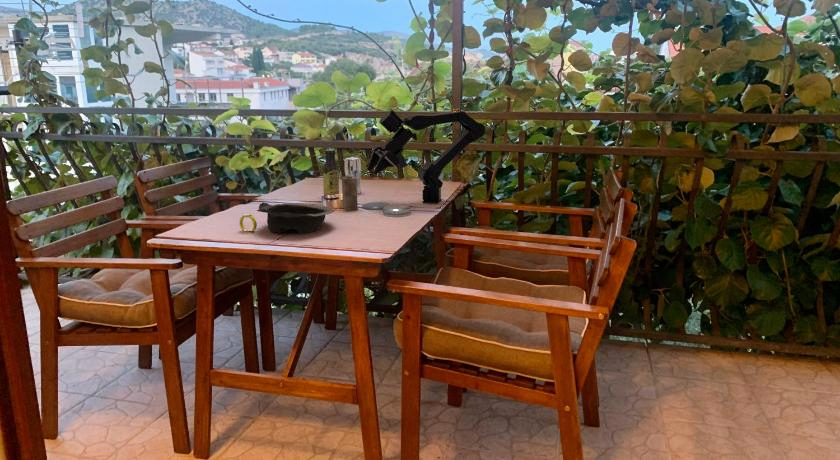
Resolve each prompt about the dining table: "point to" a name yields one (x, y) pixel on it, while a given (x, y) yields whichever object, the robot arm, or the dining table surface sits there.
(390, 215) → the round metal lid
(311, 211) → the stone bowl
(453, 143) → the robot arm
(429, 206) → the dining table surface
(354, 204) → the pepper mill
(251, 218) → the watch
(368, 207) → the coaster
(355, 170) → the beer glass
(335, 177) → the sauce bottle
